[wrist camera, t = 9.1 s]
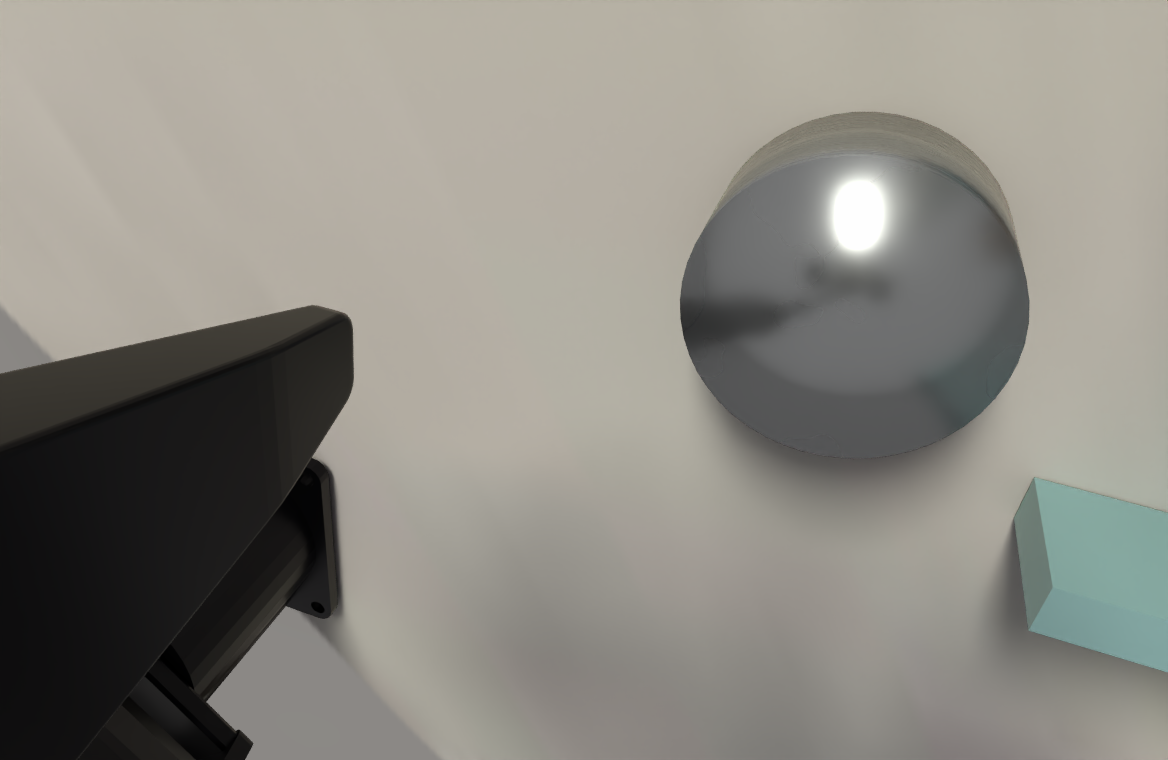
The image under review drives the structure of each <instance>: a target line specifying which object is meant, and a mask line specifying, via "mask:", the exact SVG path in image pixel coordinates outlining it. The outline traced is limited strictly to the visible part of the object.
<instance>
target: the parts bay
mask: <svg viewBox="0 0 1168 760" xmlns="http://www.w3.org/2000/svg"><path fill="white" fill-rule="evenodd" d="M1014 522H1015V530H1016V538H1017V545H1018V553H1019V561H1020V569H1021V577H1022V584H1023V592H1024V600H1025V608H1026V616H1027V623H1028V631H1031V632H1035V633H1038V634H1041V635H1045V636H1048V637H1051V638H1055V639H1058V640H1061V641H1065V642H1068V643H1071V644H1075V645H1078V646H1081V647H1085V648H1088V649H1091V650H1095V651H1098V652H1101V653H1105V654H1108V655H1111V656H1115V657H1118V658H1121V659H1125V660H1128V661H1131V662H1135V663H1138V664H1141V665H1145V666H1148V667H1151V668H1155V669H1158V670H1161V671H1165V672H1168V513H1166V512H1163V511H1159V510H1155V509H1151V508H1148V507H1144V506H1140V505H1136V504H1133V503H1129V502H1125V501H1121V500H1118V499H1114V498H1110V497H1106V496H1103V495H1099V494H1095V493H1091V492H1087V491H1084V490H1080V489H1076V488H1072V487H1069V486H1065V485H1061V484H1057V483H1054V482H1050V481H1046V480H1042V479H1039V478H1035V477H1034V479H1033V481H1032V483H1031V485H1030V487H1029V489H1028V491H1027V493H1026V495H1025V497H1024V499H1023V501H1022V503H1021V505H1020V507H1019V509H1018V511H1017V513H1016V515H1015V517H1014Z"/></svg>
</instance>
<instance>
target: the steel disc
mask: <svg viewBox="0 0 1168 760" xmlns="http://www.w3.org/2000/svg"><path fill="white" fill-rule="evenodd" d="M680 313H681V324H682V330H683V336H684V340H685V343H686V346H687V349H688V352H689V355H690V357H691V359H692V362H693V364H694V366H695V368H696V370H697V372H698V374H699V375H700V377H701V378H702V380H703V381H704V383H705V385H706V386H707V388H708V389H709V390H710V391H711V392H712V394H713V395H714V396H715V397H716V398H717V400H718V401H719V402H720V403H721V404H722V405H723V406H724V407H725V408H726V409H727V410H728V411H729V412H730V413H732V414H733V415H734V416H735V417H736V418H738V419H739V420H740V421H742V422H743V423H744V424H746V425H747V426H748V427H750V428H752V429H753V430H755V431H757V432H758V433H760V434H762V435H763V436H765V437H767V438H769V439H772V440H774V441H776V442H778V443H780V444H783V445H785V446H788V447H791V448H794V449H797V450H800V451H803V452H808V453H812V454H817V455H821V456H828V457H837V458H875V457H886V456H891V455H895V454H900V453H905V452H909V451H912V450H915V449H918V448H921V447H924V446H927V445H930V444H932V443H934V442H936V441H938V440H941V439H943V438H945V437H947V436H949V435H950V434H952V433H954V432H955V431H957V430H959V429H960V428H962V427H964V426H965V425H966V424H968V423H969V422H970V421H971V420H973V419H974V418H975V417H976V416H978V415H979V414H980V413H981V412H982V411H983V410H984V409H985V408H986V407H987V406H988V405H989V404H990V403H991V402H992V401H993V400H994V399H995V398H996V397H997V395H998V394H999V393H1000V391H1001V390H1002V389H1003V387H1004V386H1005V385H1006V383H1007V382H1008V380H1009V378H1010V377H1011V375H1012V373H1013V371H1014V369H1015V367H1016V365H1017V364H1018V361H1019V358H1020V356H1021V353H1022V350H1023V347H1024V344H1025V340H1026V335H1027V329H1028V324H1029V295H1028V288H1027V281H1026V276H1025V272H1024V267H1023V263H1022V259H1021V254H1020V250H1019V245H1018V241H1017V237H1016V232H1015V228H1014V223H1013V219H1012V216H1011V213H1010V209H1009V206H1008V203H1007V200H1006V198H1005V196H1004V194H1003V192H1002V190H1001V187H1000V185H999V183H998V182H997V180H996V179H995V178H994V176H993V175H992V173H991V172H990V170H989V169H988V167H987V166H986V165H985V164H984V163H983V162H982V161H981V160H980V159H979V158H978V157H977V156H976V154H975V153H974V152H973V151H971V150H970V149H969V148H968V147H966V146H965V145H964V144H962V143H961V142H960V141H959V140H957V139H956V138H954V137H953V136H951V135H949V134H947V133H946V132H944V131H942V130H941V129H939V128H937V127H934V126H932V125H929V124H927V123H924V122H922V121H919V120H916V119H912V118H908V117H905V116H901V115H896V114H888V113H880V112H851V113H843V114H835V115H830V116H827V117H823V118H819V119H815V120H812V121H809V122H807V123H804V124H802V125H799V126H797V127H794V128H792V129H790V130H788V131H787V132H785V133H783V134H781V135H779V136H778V137H776V138H774V139H773V140H772V141H770V142H769V143H768V144H766V145H765V146H763V147H762V148H761V149H759V150H758V151H757V152H756V153H755V154H754V155H753V156H752V157H751V158H750V159H749V160H748V161H747V162H746V163H745V164H744V165H743V166H742V168H741V169H740V170H739V171H738V173H737V174H736V175H735V176H734V178H733V179H732V181H731V183H730V184H729V186H728V188H727V189H726V191H725V193H724V194H723V196H722V198H721V200H720V201H719V203H718V205H717V207H716V208H715V210H714V212H713V214H712V216H711V217H710V219H709V221H708V223H707V224H706V226H705V228H704V230H703V232H702V233H701V235H700V237H699V239H698V240H697V242H696V244H695V246H694V248H693V251H692V253H691V255H690V258H689V260H688V262H687V266H686V270H685V273H684V277H683V281H682V289H681V297H680Z"/></svg>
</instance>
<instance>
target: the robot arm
mask: <svg viewBox="0 0 1168 760" xmlns="http://www.w3.org/2000/svg"><path fill="white" fill-rule="evenodd" d="M353 381H354V361H353V327H352V322H351V319H350V318H349V317H348V316H347V315H346V314H345V313H342V312H339V311H336V310H332V309H328V308H324V307H321V306H315V305H311V306H306V307H301V308H297V309H292V310H287V311H283V312H278V313H274V314H269V315H265V316H260V317H256V318H251V319H247V320H242V321H237V322H233V323H228V324H224V325H219V326H215V327H210V328H206V329H201V330H196V331H192V332H187V333H183V334H178V335H174V336H169V337H165V338H160V339H156V340H151V341H146V342H142V343H137V344H133V345H128V346H124V347H119V348H115V349H110V350H105V351H101V352H96V353H92V354H87V355H83V356H78V357H74V358H69V359H64V360H60V361H55V362H51V363H46V364H42V365H37V366H33V367H28V368H24V369H19V370H14V371H10V372H5V373H1V374H0V760H245V759H246V757H247V755H248V753H249V751H250V749H251V747H252V745H253V742H252V741H251V740H250V739H249V738H247V736H246V735H245V734H244V733H243V732H241V731H240V730H237V731H235V730H234V729H233V728H232V727H231V726H230V725H229V724H228V723H227V722H226V721H225V720H224V719H223V718H222V717H221V716H220V715H219V714H218V713H217V712H216V711H215V710H214V709H213V708H212V707H210V705H209V704H208V703H206V701H207V700H208V699H209V698H210V696H211V695H212V694H213V693H214V692H215V691H216V689H217V688H218V687H219V686H220V685H221V683H222V682H223V681H224V680H225V678H226V677H227V676H228V675H229V674H230V673H231V671H232V670H233V669H234V668H235V666H236V665H237V664H238V663H239V662H240V661H241V659H242V658H243V657H244V655H245V654H246V653H247V652H248V651H249V650H250V648H251V647H252V646H253V645H254V643H255V642H256V641H257V640H258V639H259V637H260V636H261V635H262V634H263V633H264V632H265V630H266V629H267V628H268V627H269V626H270V624H271V623H272V622H273V621H274V620H275V618H276V617H277V616H278V615H279V614H280V612H281V611H282V610H283V609H284V608H285V606H287V607H290V608H293V609H296V610H298V611H301V612H304V613H307V614H310V615H313V616H315V617H318V618H323V619H325V618H328V617H330V616H331V614H332V613H333V612H334V610H335V609H336V608H337V605H338V600H337V586H336V573H335V559H334V545H333V531H332V518H331V504H330V490H329V476H328V473H327V470H326V469H325V467H324V466H323V465H322V464H321V463H320V462H319V461H317V460H315V459H313V458H312V456H313V455H314V453H315V452H316V450H317V448H318V447H319V445H320V444H321V442H322V440H323V439H324V437H325V436H326V434H327V432H328V431H329V429H330V428H331V426H332V424H333V423H334V421H335V420H336V418H337V416H338V415H339V413H340V412H341V410H342V409H343V407H344V405H345V404H346V402H347V400H348V398H349V396H350V394H351V391H352V387H353Z"/></svg>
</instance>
